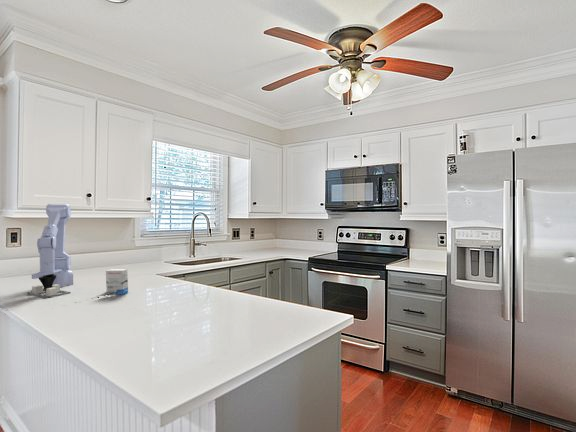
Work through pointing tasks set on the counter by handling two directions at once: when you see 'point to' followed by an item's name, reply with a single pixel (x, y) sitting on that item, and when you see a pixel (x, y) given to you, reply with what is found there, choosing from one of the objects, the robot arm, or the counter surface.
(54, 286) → the cream rectangular block
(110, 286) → the ink box
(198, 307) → the counter surface
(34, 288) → the off-white rectangular block
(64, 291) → the grey divided tray
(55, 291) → the off-white rectangular block
